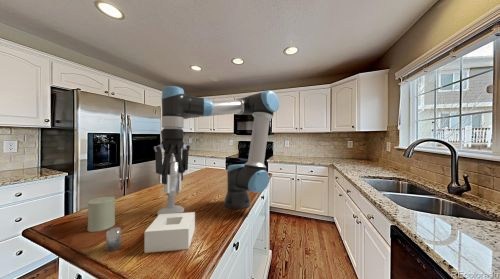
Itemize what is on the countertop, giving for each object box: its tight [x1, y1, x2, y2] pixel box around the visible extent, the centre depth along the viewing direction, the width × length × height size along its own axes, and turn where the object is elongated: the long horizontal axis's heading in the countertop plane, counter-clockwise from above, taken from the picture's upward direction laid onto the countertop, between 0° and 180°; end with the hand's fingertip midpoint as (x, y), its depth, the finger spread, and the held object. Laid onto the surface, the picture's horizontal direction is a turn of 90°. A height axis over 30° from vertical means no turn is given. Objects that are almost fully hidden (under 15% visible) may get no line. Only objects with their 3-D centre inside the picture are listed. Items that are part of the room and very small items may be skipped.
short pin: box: [105, 226, 122, 252], centre depth 62 cm, size 4×4×6 cm
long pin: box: [166, 160, 179, 196], centre depth 67 cm, size 4×4×12 cm
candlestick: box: [156, 154, 185, 216], centre depth 92 cm, size 13×13×30 cm
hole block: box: [144, 211, 196, 254], centre depth 67 cm, size 14×14×7 cm
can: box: [87, 196, 116, 233], centre depth 77 cm, size 9×9×12 cm
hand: (172, 190), depth 67 cm, fingers closed on long pin, 4 cm apart
